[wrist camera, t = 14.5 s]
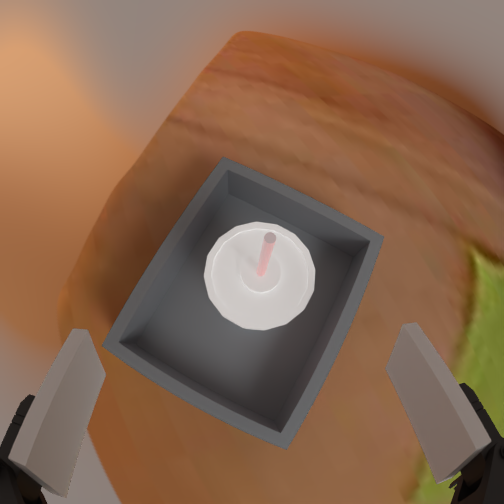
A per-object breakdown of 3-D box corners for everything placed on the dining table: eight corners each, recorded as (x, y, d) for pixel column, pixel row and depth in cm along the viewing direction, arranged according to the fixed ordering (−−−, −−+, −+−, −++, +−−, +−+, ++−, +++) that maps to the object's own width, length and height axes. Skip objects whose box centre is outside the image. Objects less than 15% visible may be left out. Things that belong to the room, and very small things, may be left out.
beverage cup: (276, 348, 24) (325, 339, 10) (205, 324, 24) (165, 285, 11) (297, 279, 26) (357, 198, 12) (229, 257, 26) (223, 155, 13)
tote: (224, 186, 29) (223, 156, 25) (361, 256, 28) (384, 236, 23) (125, 348, 24) (101, 345, 19) (277, 432, 22) (286, 449, 17)
